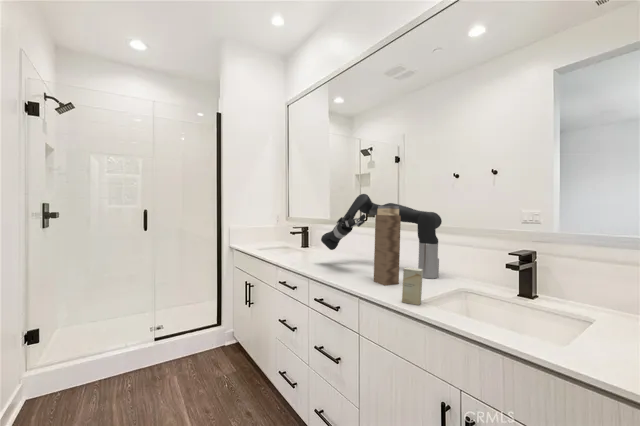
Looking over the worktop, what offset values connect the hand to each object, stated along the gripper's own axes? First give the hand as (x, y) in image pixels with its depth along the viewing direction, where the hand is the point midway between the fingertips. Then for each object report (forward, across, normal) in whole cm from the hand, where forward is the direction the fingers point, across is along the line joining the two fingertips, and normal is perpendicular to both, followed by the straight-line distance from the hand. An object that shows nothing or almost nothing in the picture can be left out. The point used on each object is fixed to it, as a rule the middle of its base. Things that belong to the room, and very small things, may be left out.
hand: (357, 215), depth 147 cm
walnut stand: (+1, +5, +35) cm, 36 cm away
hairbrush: (+12, +5, +6) cm, 14 cm away
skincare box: (+24, -6, +48) cm, 54 cm away
